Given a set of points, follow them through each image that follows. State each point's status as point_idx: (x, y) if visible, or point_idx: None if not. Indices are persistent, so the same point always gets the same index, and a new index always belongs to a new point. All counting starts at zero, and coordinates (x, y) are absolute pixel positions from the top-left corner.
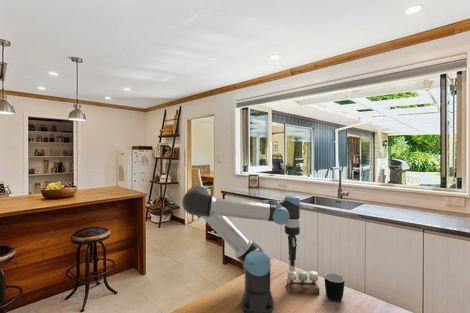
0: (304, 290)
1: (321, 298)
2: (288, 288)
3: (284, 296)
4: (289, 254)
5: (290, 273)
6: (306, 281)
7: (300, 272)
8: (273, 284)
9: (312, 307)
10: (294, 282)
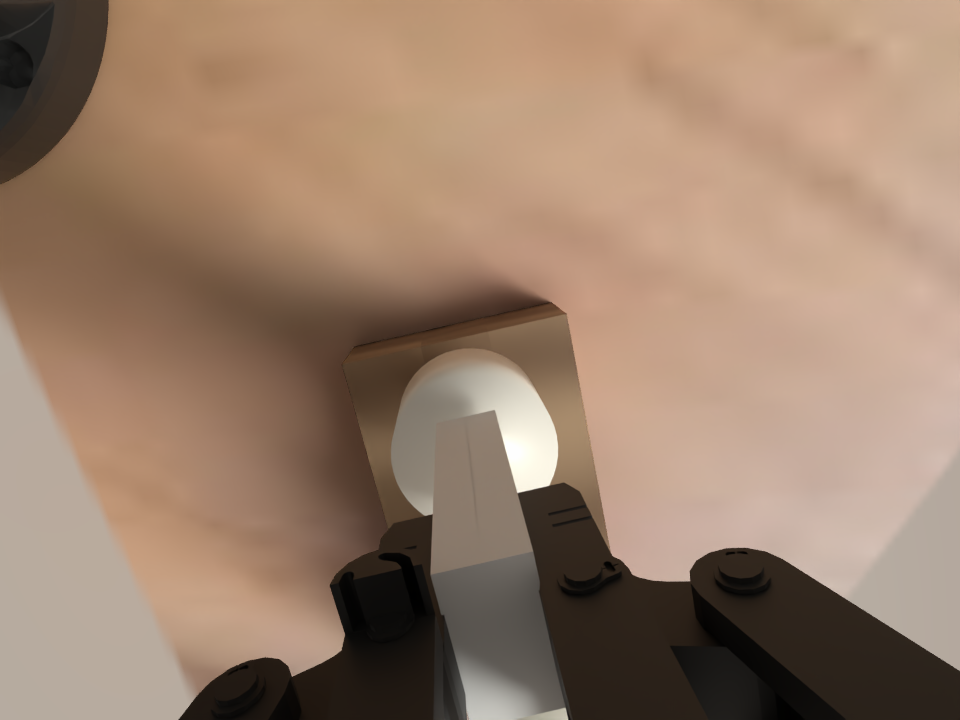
0: None
1: None
2: (395, 343)
3: (260, 299)
4: (554, 650)
5: (417, 433)
6: None
7: None
8: (504, 117)
9: (166, 603)
10: None
